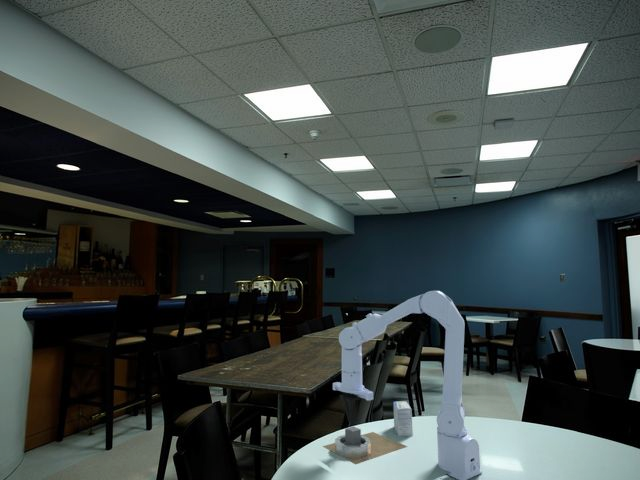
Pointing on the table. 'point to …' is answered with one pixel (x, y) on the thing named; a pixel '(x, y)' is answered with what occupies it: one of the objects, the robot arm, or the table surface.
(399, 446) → the board with octagonal ring
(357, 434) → the cap
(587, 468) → the table surface
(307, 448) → the table surface
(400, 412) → the medicine box
